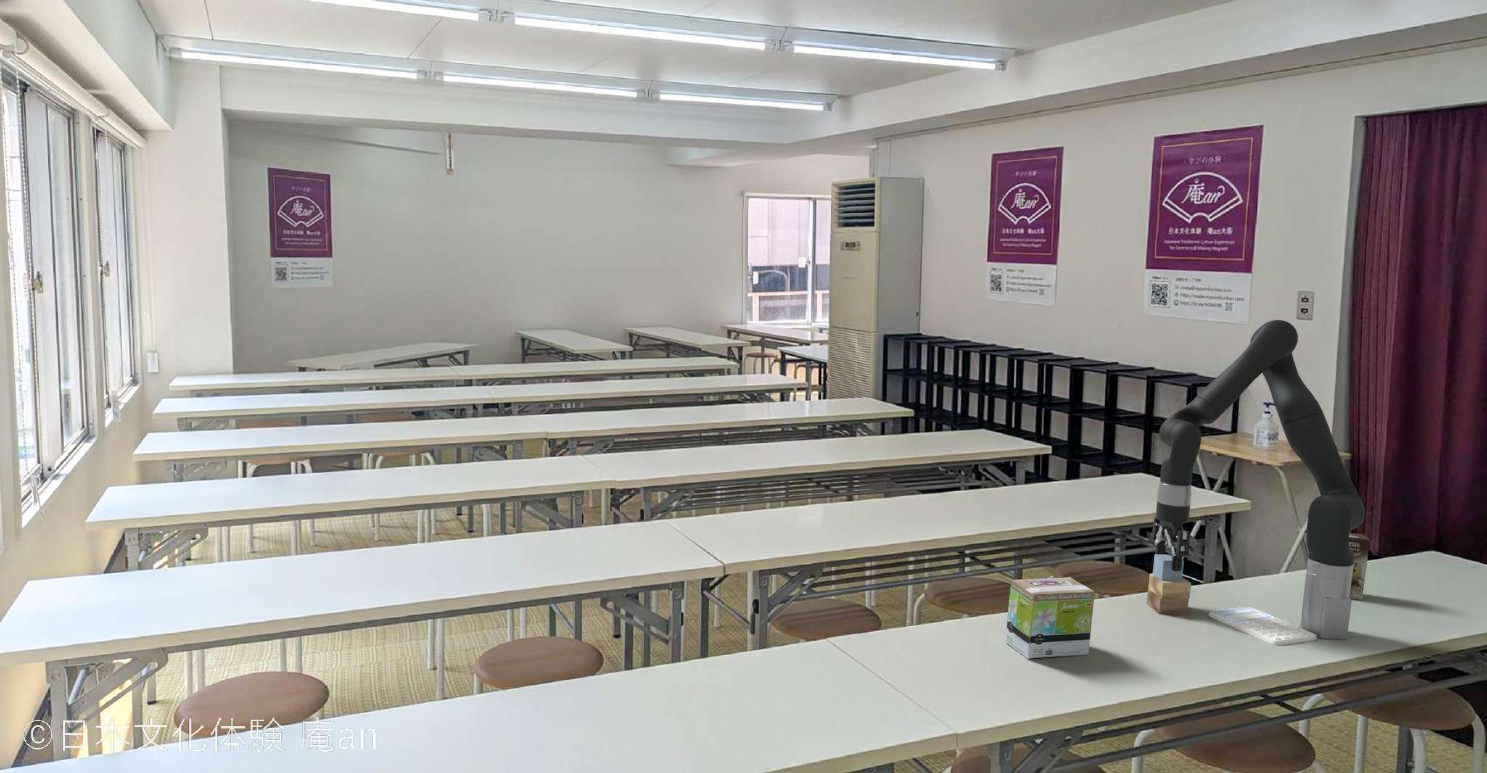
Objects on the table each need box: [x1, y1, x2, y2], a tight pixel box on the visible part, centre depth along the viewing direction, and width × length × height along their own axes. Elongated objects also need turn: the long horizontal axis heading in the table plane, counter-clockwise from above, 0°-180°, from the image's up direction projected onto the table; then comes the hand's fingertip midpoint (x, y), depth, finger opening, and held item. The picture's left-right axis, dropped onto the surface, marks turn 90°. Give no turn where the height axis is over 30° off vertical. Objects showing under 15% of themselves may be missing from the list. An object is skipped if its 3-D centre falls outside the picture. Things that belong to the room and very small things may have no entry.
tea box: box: [1004, 576, 1096, 660], centre depth 224 cm, size 15×10×15 cm, turn 105°
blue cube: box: [1152, 553, 1185, 581], centre depth 253 cm, size 5×5×5 cm
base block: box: [1146, 588, 1190, 615], centre depth 253 cm, size 7×7×4 cm
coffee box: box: [1349, 532, 1371, 601], centre depth 268 cm, size 9×6×16 cm
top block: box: [1148, 573, 1192, 600], centre depth 253 cm, size 7×7×4 cm
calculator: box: [1208, 606, 1318, 646], centre depth 243 cm, size 13×20×2 cm, turn 21°
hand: (1167, 565), depth 253 cm, fingers open, 8 cm apart
